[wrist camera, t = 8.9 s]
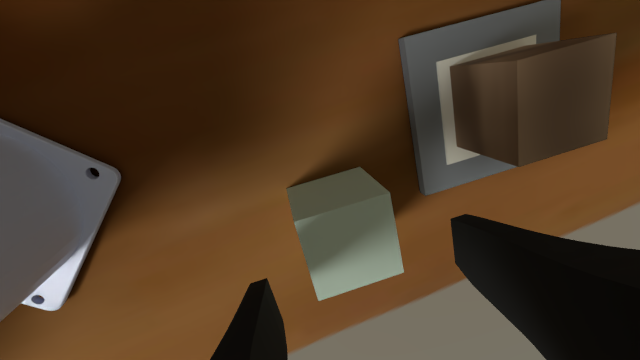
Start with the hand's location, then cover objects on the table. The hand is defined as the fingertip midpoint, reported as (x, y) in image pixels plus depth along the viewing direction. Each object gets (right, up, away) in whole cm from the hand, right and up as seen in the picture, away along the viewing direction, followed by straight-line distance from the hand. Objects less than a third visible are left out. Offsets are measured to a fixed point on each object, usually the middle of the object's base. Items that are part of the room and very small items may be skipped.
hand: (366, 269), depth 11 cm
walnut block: (+7, +7, +4) cm, 11 cm away
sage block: (-1, +2, +5) cm, 6 cm away
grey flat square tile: (+7, +7, +5) cm, 11 cm away
